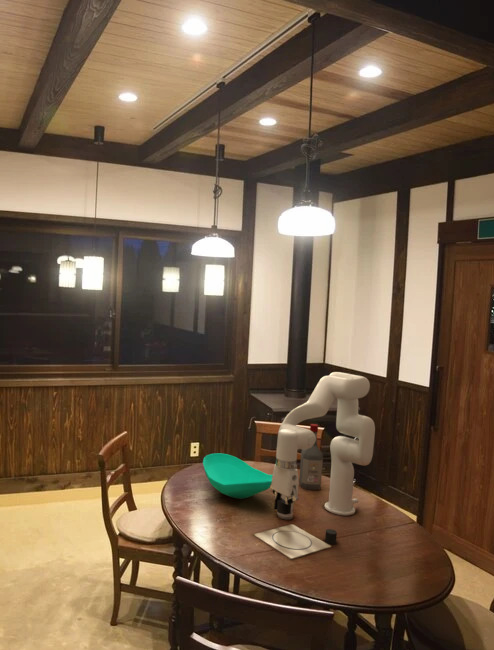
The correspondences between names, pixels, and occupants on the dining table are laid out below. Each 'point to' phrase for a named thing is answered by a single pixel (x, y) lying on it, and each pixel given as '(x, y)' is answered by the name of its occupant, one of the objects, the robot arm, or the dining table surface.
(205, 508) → the dining table surface
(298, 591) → the dining table surface
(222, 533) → the dining table surface
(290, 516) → the travel mug
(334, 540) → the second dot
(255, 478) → the table top decor
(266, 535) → the drawing board
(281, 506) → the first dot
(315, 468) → the liquor
